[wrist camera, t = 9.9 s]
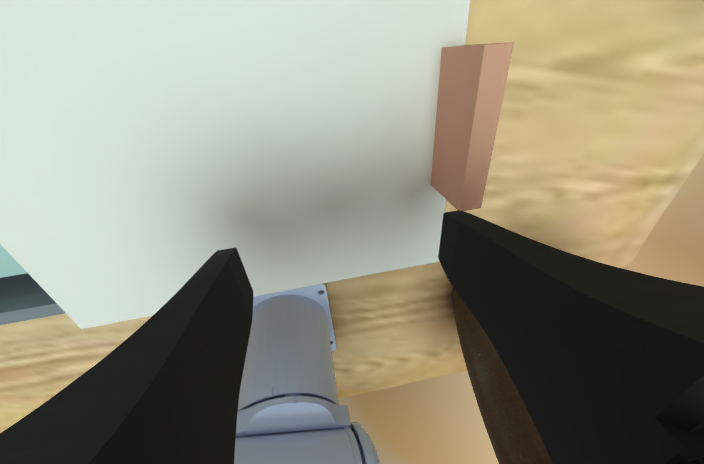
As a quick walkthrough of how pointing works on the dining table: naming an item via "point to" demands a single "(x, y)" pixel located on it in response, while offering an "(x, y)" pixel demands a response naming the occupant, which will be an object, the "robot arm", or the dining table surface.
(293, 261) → the lid
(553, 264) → the robot arm
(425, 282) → the dining table surface
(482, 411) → the plant pot
